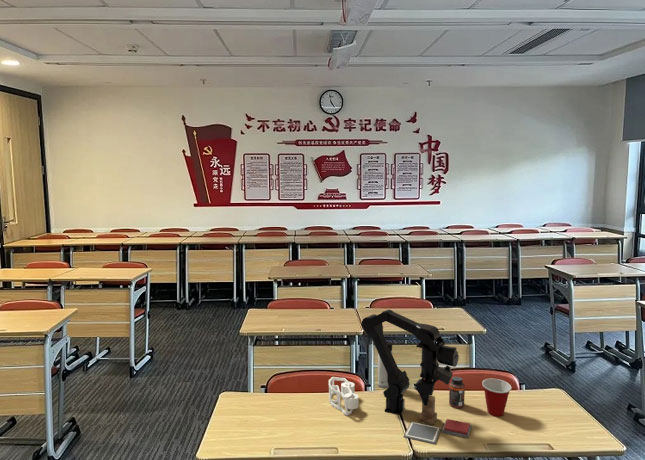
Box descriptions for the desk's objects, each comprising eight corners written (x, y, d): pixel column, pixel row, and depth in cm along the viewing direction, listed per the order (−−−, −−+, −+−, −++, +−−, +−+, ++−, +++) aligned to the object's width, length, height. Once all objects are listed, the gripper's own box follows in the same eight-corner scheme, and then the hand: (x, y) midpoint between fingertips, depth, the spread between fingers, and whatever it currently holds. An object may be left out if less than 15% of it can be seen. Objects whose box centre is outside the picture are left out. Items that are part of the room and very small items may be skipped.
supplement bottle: (465, 409, 182) (465, 382, 182) (449, 408, 184) (450, 380, 183) (463, 402, 188) (464, 376, 187) (448, 401, 190) (449, 374, 189)
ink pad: (442, 432, 165) (442, 428, 165) (446, 422, 172) (446, 418, 172) (468, 438, 161) (468, 433, 161) (471, 427, 168) (471, 423, 168)
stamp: (419, 422, 173) (419, 399, 172) (422, 415, 178) (422, 393, 177) (434, 425, 170) (434, 402, 170) (436, 418, 175) (437, 396, 174)
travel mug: (383, 390, 200) (383, 345, 198) (375, 384, 206) (375, 341, 204) (395, 387, 203) (395, 343, 201) (386, 381, 209) (386, 339, 207)
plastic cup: (487, 420, 173) (487, 390, 172) (477, 407, 184) (477, 378, 183) (515, 420, 174) (516, 390, 173) (504, 407, 184) (505, 378, 183)
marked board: (403, 437, 162) (403, 435, 162) (411, 422, 172) (411, 421, 172) (435, 444, 158) (435, 442, 158) (440, 429, 168) (440, 427, 167)
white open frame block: (359, 415, 179) (359, 396, 178) (331, 416, 178) (331, 397, 177) (353, 392, 198) (353, 376, 198) (327, 393, 198) (327, 376, 197)
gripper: (447, 372, 160) (445, 415, 162) (455, 355, 177) (454, 394, 178) (415, 367, 165) (414, 409, 166) (426, 351, 182) (425, 389, 183)
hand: (428, 400), depth 173 cm, fingers open, 9 cm apart
